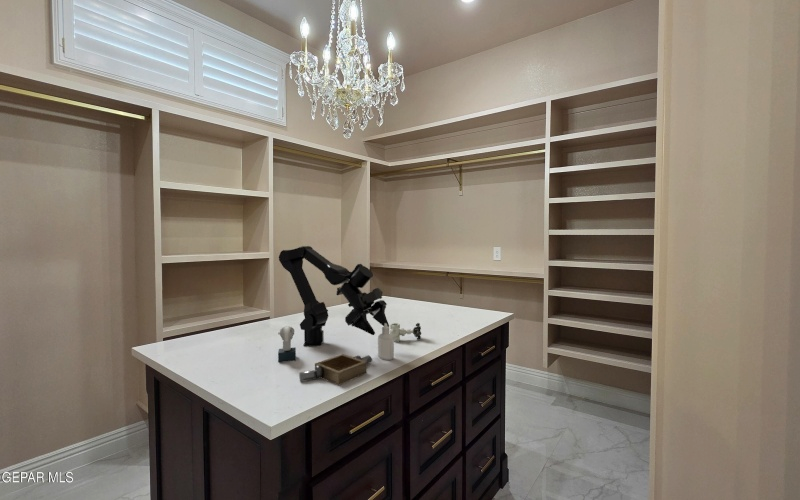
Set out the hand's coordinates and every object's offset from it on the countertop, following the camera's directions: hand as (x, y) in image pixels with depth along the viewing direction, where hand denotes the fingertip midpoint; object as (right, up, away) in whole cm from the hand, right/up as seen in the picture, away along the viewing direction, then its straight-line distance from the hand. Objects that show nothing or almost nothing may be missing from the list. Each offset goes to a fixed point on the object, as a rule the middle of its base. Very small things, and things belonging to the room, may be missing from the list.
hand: (381, 330), depth 119 cm
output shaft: (-20, -10, -17) cm, 28 cm away
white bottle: (+2, -9, 0) cm, 10 cm away
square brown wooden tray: (-12, -10, -14) cm, 21 cm away
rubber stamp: (-32, -10, -1) cm, 33 cm away
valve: (+8, -8, +20) cm, 23 cm away
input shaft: (-6, -10, -7) cm, 13 cm away
